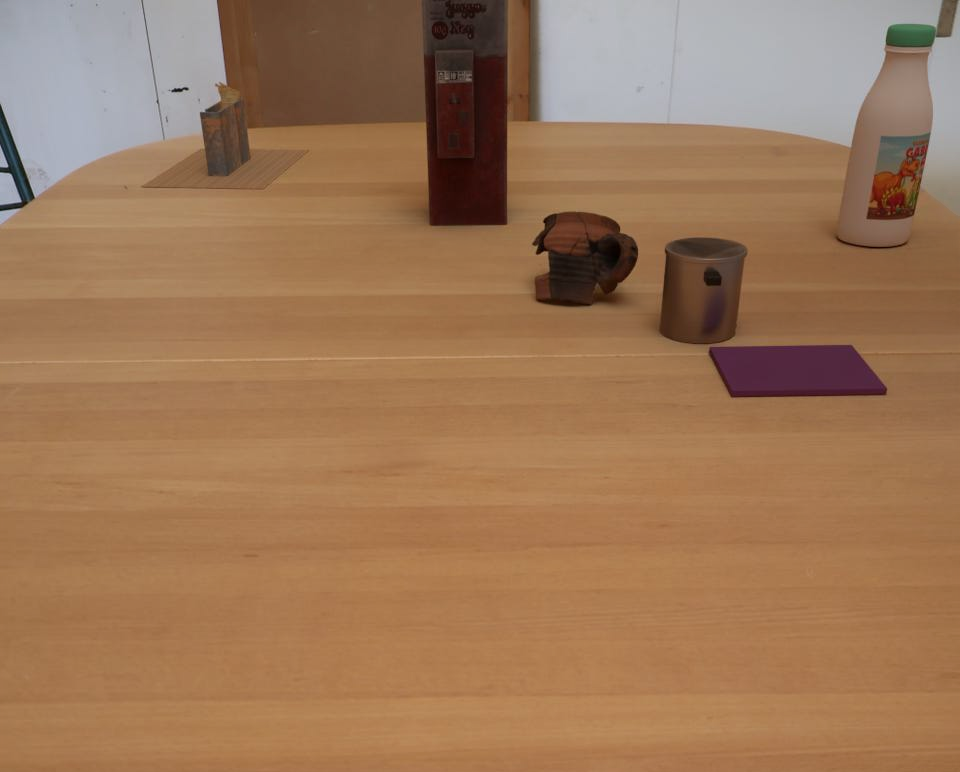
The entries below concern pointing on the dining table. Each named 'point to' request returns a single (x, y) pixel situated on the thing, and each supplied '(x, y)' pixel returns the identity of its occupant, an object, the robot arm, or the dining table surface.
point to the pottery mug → (583, 256)
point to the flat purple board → (795, 371)
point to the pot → (701, 289)
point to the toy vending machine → (466, 110)
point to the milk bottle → (890, 144)
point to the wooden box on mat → (227, 152)
